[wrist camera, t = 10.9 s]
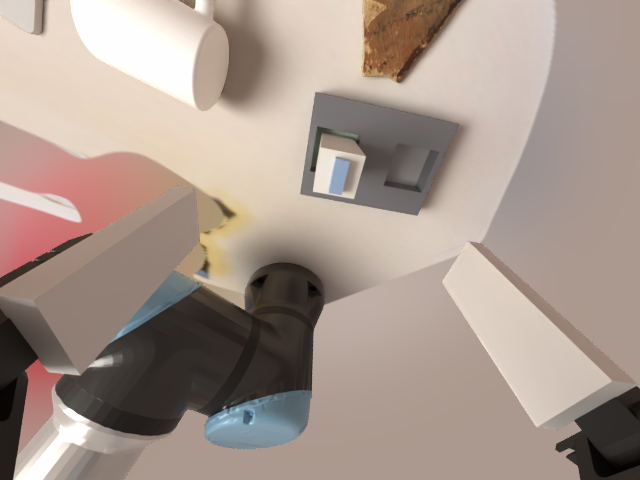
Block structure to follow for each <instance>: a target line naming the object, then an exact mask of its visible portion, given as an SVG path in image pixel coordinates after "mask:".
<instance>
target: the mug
mask: <svg viewBox="0 0 640 480" xmlns="http://www.w3.org/2000/svg"><path fill="white" fill-rule="evenodd" d="M70 2H71V10H72V15H73V19H74V23H75V26H76V28H77V31H78V33H79V35H80V37H81V39H82V41H83V42H84V44H85V45H86V47H87V48H88V49H89V51H90V52H91V53H92V54H93V55H94V56H95V57H97V58H98V59H99V60H101V61H102V62H104V63H106V64H108V65H110V66H112V67H114V68H116V69H118V70H120V71H122V72H124V73H126V74H128V75H130V76H132V77H134V78H136V79H138V80H140V81H142V82H144V83H146V84H148V85H150V86H152V87H154V88H156V89H158V90H160V91H162V92H164V93H166V94H168V95H170V96H172V97H174V98H176V99H178V100H180V101H182V102H184V103H186V104H188V105H190V106H192V107H194V108H196V109H198V110H201V111H207V110H209V109H210V108H212V107H213V106H214V104H215V103H216V102H217V100H218V98H219V97H220V95H221V92H222V90H223V87H224V84H225V81H226V76H227V72H228V65H229V43H228V38H227V35H226V32H225V30H224V29H223V27H222V26H221V25H219V24H218V23H216V22H214V20H213V13H214V0H196V5H195V8H194V9H192V8H190V7H189V6H187V5H185V4H184V3H182V2H180V1H179V0H70Z"/></svg>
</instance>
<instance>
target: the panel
mask: <svg viewBox="0 0 640 480" xmlns="http://www.w3.org/2000/svg"><path fill="white" fill-rule="evenodd" d="M458 125H459V124H457V123H452V122H448V121H443V120H439V119H434V118H430V117H425V116H421V115H416V114H412V113H407V112H403V111H398V110H394V109H389V108H385V107H380V106H376V105H371V104H367V103H362V102H358V101H353V100H349V99H344V98H340V97H335V96H331V95H326V94H322V93H317V92H315V98H314V105H313V112H312V119H311V125H310V132H309V139H308V146H307V152H306V159H305V166H304V173H303V179H302V186H301V193H300V194H303V195H308V196H313V197H319V198H324V199H330V200H335V201H341V202H346V203H351V204H357V205H362V206H368V207H373V208H379V209H384V210H389V211H395V212H400V213H406V214H411V215H418V213H419V211H420V209H421V206H422V204H423V202H424V200H425V198H426V195H427V193H428V191H429V189H430V187H431V184H432V182H433V180H434V178H435V176H436V173H437V171H438V169H439V167H440V165H441V162H442V160H443V158H444V156H445V154H446V151H447V149H448V147H449V145H450V143H451V140H452V138H453V136H454V134H455V132H456V129H457V127H458ZM322 131H325V132H330V133H335V134H340V135H345V136H349V137H352V138H353V139H354V141H355V142H356V143H357V145H358V146H359V147H360V149H361V150H362V152H363V153H364V154H365V156H366V158H365V162H364V165H363V169H362V172H361V176H360V179H359V183H358V187H357V190H356V194H355V197H354V199H350V198H345V197H339V196H334V195H329V194H323V193H318V192H313V187H314V179H315V171H316V164H317V158H318V152H319V146H320V140H321V135H322Z"/></svg>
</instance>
